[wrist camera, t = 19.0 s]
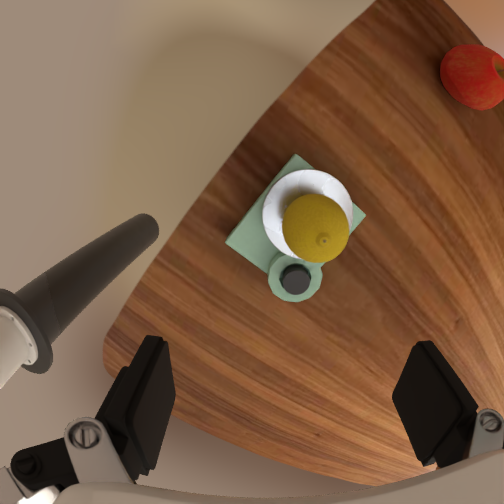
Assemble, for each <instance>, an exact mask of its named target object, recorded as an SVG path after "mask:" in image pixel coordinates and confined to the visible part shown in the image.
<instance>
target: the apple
mask: <svg viewBox="0 0 504 504" xmlns="http://www.w3.org/2000/svg"><path fill="white" fill-rule="evenodd" d="M440 78H441V81H442V83H443V86H444V87H445V89H446V90H447V91H448V93H449V94H450V95H451V96H452V97H453V98H454V99H456V100H457V101H458V102H460V103H462V104H464V105H466V106H468V107H470V108H472V109H477V110H486V109H489V108H492V107H494V106H495V105H497V104H498V103H499V102H501V101H502V100H503V99H504V59H503V58H502V57H501V56H500V55H499V54H498V53H496V52H494V51H493V50H491V49H489V48H487V47H485V46H481V45H459V46H456V47H454V48H452V49H451V50H449V51H448V52H447V53H446V55H445V56H444V58H443V60H442V62H441V67H440Z"/></svg>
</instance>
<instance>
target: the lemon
mask: <svg viewBox="0 0 504 504" xmlns="http://www.w3.org/2000/svg"><path fill="white" fill-rule="evenodd" d="M282 234H283V237H284V240H285V242H286V244H287V245H288V247H289V249H290V250H291V251H292V252H293V253H294V254H295V255H296V256H297V257H299V258H301V259H303V260H305V261H308V262H312V263H323V262H327V261H330V260H332V259H333V258H335V257H337V256H338V255H339V254H340V253H341V252H342V250H343V249H344V248H345V246H346V244H347V241H348V237H349V223H348V219H347V217H346V214H345V212H344V210H343V209H342V208H341V206H340V205H339V204H338V203H337V202H335V201H334V200H333V199H332V198H330V197H327V196H325V195H321V194H306V195H304V196H301V197H299V198H297V199H296V200H294V201H293V202H292V203H291V204H290V205H289V206H288V208H287V209H286V211H285V214H284V216H283V221H282Z"/></svg>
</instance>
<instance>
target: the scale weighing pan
mask: <svg viewBox="0 0 504 504" xmlns="http://www.w3.org/2000/svg"><path fill="white" fill-rule="evenodd" d="M306 194H321V195H325V196H327V197H330V198H332V199H333V200H334V201H335V202H337V203H338V204H339V205H340V206H341V208H342V209H343V210H344V212H345V214H346V217H347V219H348V223H349V232H350V229H351V226H352V222H353V205H352V201H351V198H350V196H349V194H348V192H347V190H346V188H345V187H344V186H343V185H342V183H341V182H340V181H338V180H337V179H336V178H335V177H333V176H332V175H330V174H328V173H326V172H323V171H320V170H315V169H299V170H295V171H292V172H290V173H288V174H286V175H284V176H282V177H281V178H280V179H278V180H277V181H276V182H275V183H274V184H273V185H272V187H271V188H270V190H269V191H268V193H267V195H266V197H265V200H264V204H263V210H262V220H263V226H264V229H265V232H266V234H267V236H268V238H269V240H270V241H271V242H272V244H273V245H274V246H275V247H276V248H277V249H278V250H280V251H281V252H282V253H284V254H286V255H288V256H290V257H293V258H297V259H301V258H299V257H297V256H296V255H295V254H294V253H293V252H292V251H291V250H290V249H289V247H288V245H287V244H286V242H285V240H284V237H283V234H282V221H283V216H284V214H285V211H286V209H287V208H288V206H289V205H290V204H291V203H292V202H293V201H294V200H296V199H297V198H299V197H301V196H304V195H306Z"/></svg>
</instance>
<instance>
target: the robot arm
mask: <svg viewBox="0 0 504 504" xmlns="http://www.w3.org/2000/svg"><path fill="white" fill-rule="evenodd" d="M37 358H38V349H37V345H36V342H35V340H34V338H33V336H32V334H31V332H30V330H29V329H28V327H27V326H26V324H25V323H24V322H23V321H22V319H21V318H20V317H19V316H18V315H17V314H16V313H15V312H13V311H12V310H11V309H9V308H7V307H5V306H0V389H1V388H2V387H3V386H4V385H5V383H6V382H7V381H8V380H9V379H10V377H11V376H12V375H13V374H14V373H15V372H16V370H17V369H18V368H19V367H20V366H21V365H22V364H26V365H32V364H33V363H34V362H35V361H36V360H37ZM175 395H176V393H175V386H174V380H173V374H172V368H171V361H170V354H169V347H168V342H167V341H163V338H162V337H159V336H151V335H146V337H145V338H144V340H143V342H142V344H141V345H140V347H139V349H138V351H137V353H136V355H135V356H134V358H133V360H132V362H131V364H130V366H129V367H127V366H124V367H123V368H122V369H121V370H120V372H119V374H118V376H117V377H116V379H115V381H114V383H113V385H112V387H111V389H110V391H109V392H108V394H107V396H106V398H105V400H104V402H103V404H102V405H101V407H100V409H99V411H98V413H97V415H96V417H95V419H94V418H89V417H82V418H77V419H75V420H73V421H72V422H70V423H69V424H68V425H67V427H66V428H65V432H64V437H63V438H60V439H57V440H54V441H50V442H47V443H44V444H40V445H37V446H34V447H30V448H26V449H22V450H20V451H18V452H17V453H16V454H15V455H14V456H13V458H12V459H11V467H9V468H6V467H5V466H4V467H2V468H1V469H0V504H504V420H503V417H502V416H501V415H500V414H499V413H498V412H497V411H495V410H493V409H488V408H487V409H483V410H481V411H480V412H479V413H478V414H477V412H476V410H477V408H478V407H479V406H478V405H477V403H476V402H475V400H474V399H473V397H472V396H471V394H470V393H469V391H468V390H467V388H466V387H465V386H464V384H463V383H462V381H461V380H460V378H459V377H458V376H457V374H456V373H455V371H454V370H453V369H452V367H451V366H450V365H449V363H448V362H447V361H446V359H445V358H444V356H443V355H442V354H441V352H440V351H439V350H438V349H437V347H436V346H435V345H434V343H433V342H432V341H430V340H429V341H419V342H417V343H416V345H415V346H413V347H412V350H411V352H410V355H409V357H408V360H407V362H406V364H405V367H404V369H403V371H402V374H401V376H400V378H399V380H398V383H397V385H396V387H395V389H394V391H393V394H392V400H393V403H394V405H395V407H396V409H397V412H398V414H399V416H400V418H401V421H402V423H403V425H404V428H405V430H406V432H407V435H408V437H409V440H410V442H411V444H412V447H413V449H414V452H415V454H416V457H417V459H418V460H419V461H421V462H422V465H423V467H425V466H428V465H431V464H434V463H435V462H436V463H437V468H436V470H435V471H432V472H429V473H426V474H423V475H420V476H416V477H413V478H409V479H406V480H402V481H398V482H394V483H390V484H386V485H381V486H377V487H372V488H367V489H362V490H356V491H350V492H343V493H336V494H328V495H319V496H307V497H289V498H243V497H226V496H214V495H204V494H196V493H187V492H181V491H175V490H168V489H162V488H156V487H149V486H144V485H137V483H136V482H135V480H137V479H138V477H139V474H142V475H146V476H148V474H149V470H150V469H151V470H154V469H155V466H156V463H157V459H158V456H159V452H160V449H161V445H162V442H163V438H164V435H165V431H166V428H167V425H168V421H169V418H170V415H171V411H172V408H173V405H174V401H175Z"/></svg>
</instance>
